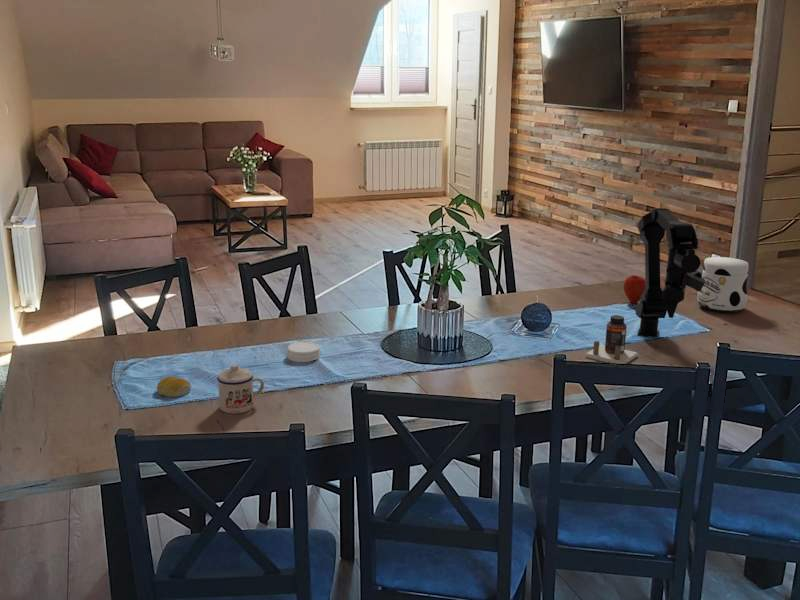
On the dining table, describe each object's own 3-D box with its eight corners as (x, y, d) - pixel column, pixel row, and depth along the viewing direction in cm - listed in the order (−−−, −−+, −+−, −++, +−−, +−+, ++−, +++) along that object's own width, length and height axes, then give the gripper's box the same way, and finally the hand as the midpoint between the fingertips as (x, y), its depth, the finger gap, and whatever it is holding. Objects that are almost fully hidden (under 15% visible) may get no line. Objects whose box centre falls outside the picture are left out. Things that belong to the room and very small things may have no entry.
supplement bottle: (627, 354, 248) (631, 319, 245) (609, 355, 247) (612, 320, 244) (619, 347, 254) (622, 313, 250) (601, 348, 253) (604, 314, 249)
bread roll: (173, 383, 225) (172, 370, 224) (196, 390, 221) (195, 377, 220) (149, 393, 219) (148, 379, 218) (173, 400, 214) (172, 386, 213)
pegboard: (601, 347, 257) (602, 332, 256) (637, 356, 250) (638, 340, 249) (585, 356, 249) (587, 341, 247) (622, 366, 242) (624, 349, 240)
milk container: (690, 310, 298) (695, 262, 293) (702, 299, 311) (708, 254, 306) (739, 318, 288) (745, 269, 283) (750, 307, 302) (756, 260, 297)
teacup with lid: (224, 417, 204) (221, 374, 201) (215, 403, 212) (212, 362, 209) (269, 408, 209) (268, 367, 206) (259, 396, 217) (257, 355, 214)
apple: (618, 299, 309) (620, 272, 306) (639, 299, 310) (642, 272, 307) (626, 306, 301) (629, 278, 298) (648, 305, 302) (651, 278, 299)
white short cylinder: (310, 365, 240) (310, 354, 239) (281, 360, 244) (280, 349, 243) (325, 354, 249) (325, 343, 248) (297, 350, 253) (296, 339, 252)
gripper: (704, 274, 234) (698, 325, 238) (705, 260, 251) (699, 308, 255) (664, 270, 238) (659, 321, 242) (668, 257, 254) (663, 304, 259)
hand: (671, 313), depth 249 cm, fingers open, 9 cm apart
